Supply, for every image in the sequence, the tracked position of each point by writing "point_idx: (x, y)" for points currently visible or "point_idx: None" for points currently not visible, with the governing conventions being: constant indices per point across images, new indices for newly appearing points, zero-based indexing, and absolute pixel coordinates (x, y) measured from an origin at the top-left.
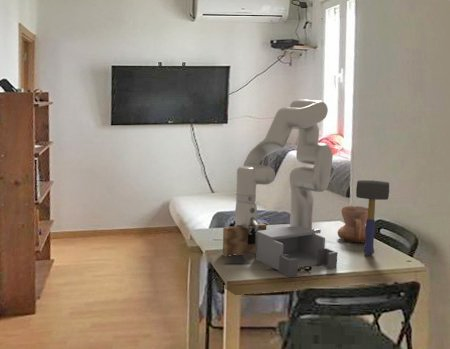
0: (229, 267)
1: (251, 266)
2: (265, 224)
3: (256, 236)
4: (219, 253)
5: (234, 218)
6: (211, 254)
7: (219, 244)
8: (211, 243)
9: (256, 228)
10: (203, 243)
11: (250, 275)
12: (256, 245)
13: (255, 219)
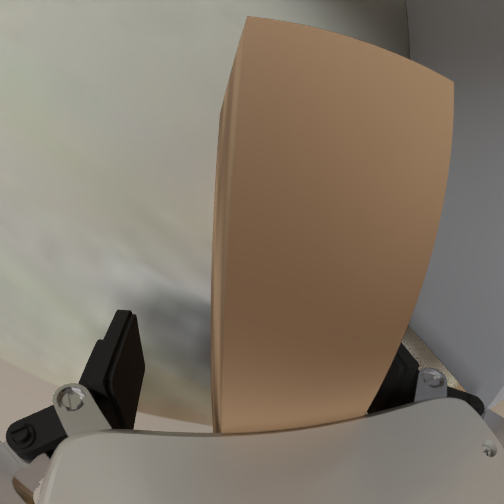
0: (366, 413)
1: (417, 351)
2: (441, 91)
3: (459, 382)
4: (183, 395)
5: (27, 493)
6: (185, 420)
7: (26, 314)
8: (11, 334)
9: (487, 423)
10: (12, 360)
11: (448, 377)
12: (426, 340)
13: (498, 489)
